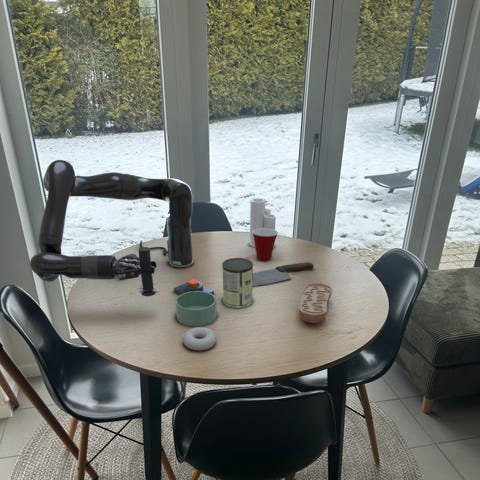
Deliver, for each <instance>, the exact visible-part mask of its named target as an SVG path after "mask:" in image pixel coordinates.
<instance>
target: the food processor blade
mask: <svg viewBox="0 0 480 480" xmlns="http://www.w3.org/2000/svg"><path fill="white" fill-rule="evenodd" d="M150 248H151V247H147V246H142V247H139V248H138V251H137V252H138V257H139V261H140V266H141V268H142V266H151V261H152V259H151V249H150ZM140 279H141V285H138V286H136V289H140V290H139V291H138V293H140V295H141V296H143V297H153V296H155V295H156V294H158V293H160V292H161V290H158V289H156V288H154V286H155V284H157V281H154V279H153V274H142V275H140Z"/></svg>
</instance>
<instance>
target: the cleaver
mask: <svg viewBox="0 0 480 480" xmlns="http://www.w3.org/2000/svg"><path fill="white" fill-rule="evenodd" d="M312 269H314V264H313V262H311V261H309V262H297V263H290V264H289V263H288V264H283V265H278V266H276V267H274V268H270V269H265V270H260V271H256V272H253V278H252V287H257V286H264V285H269V284H274V283H278V282H282V281H287V280H289V279H291V278H292V277H291V276H290V274H289V273H287V272H298V271H302V270H312Z"/></svg>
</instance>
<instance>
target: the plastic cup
mask: <svg viewBox="0 0 480 480" xmlns="http://www.w3.org/2000/svg"><path fill="white" fill-rule="evenodd" d="M252 233H253V236H254V242H255V247H254V248H255V253H256V259H257V260H258V261H260V262H268V261H269V262H270V261H271V259H272V255H273V252H274V248H275V243H276V239H277V236H278V235H279V231H278V230H276V229H275V230H273V229H267V228H259V229H254V230H252Z"/></svg>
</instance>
